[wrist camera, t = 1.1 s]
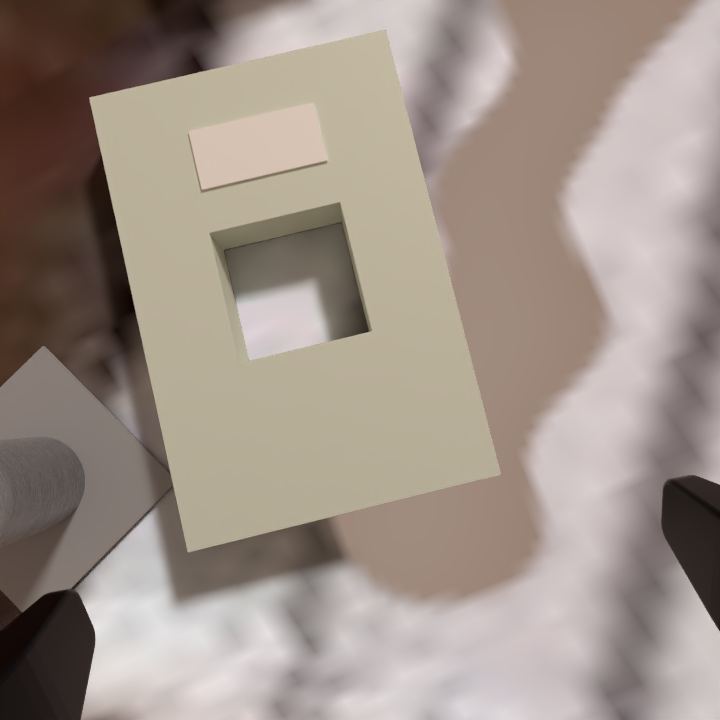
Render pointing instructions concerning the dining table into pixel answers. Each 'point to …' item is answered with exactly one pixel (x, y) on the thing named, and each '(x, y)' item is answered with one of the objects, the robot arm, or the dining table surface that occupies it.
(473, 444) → the hole board
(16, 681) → the robot arm
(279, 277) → the dining table surface
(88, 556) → the pad
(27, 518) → the steel pin
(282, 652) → the dining table surface
